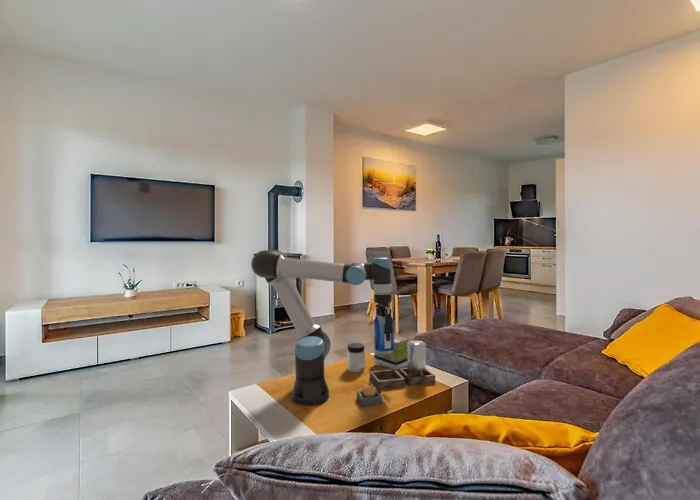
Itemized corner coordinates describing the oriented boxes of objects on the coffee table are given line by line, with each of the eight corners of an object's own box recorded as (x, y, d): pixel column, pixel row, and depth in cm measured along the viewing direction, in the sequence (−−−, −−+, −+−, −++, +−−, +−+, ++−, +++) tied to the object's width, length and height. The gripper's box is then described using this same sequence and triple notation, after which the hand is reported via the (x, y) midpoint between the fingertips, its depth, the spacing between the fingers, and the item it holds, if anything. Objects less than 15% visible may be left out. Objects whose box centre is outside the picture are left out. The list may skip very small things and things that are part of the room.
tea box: (373, 365, 182) (373, 336, 182) (386, 360, 189) (386, 332, 189) (396, 373, 171) (395, 342, 171) (409, 367, 178) (409, 338, 177)
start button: (364, 398, 139) (364, 390, 139) (361, 393, 144) (360, 385, 144) (377, 397, 140) (377, 389, 140) (373, 391, 145) (373, 384, 145)
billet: (412, 383, 155) (411, 346, 155) (404, 376, 163) (404, 341, 163) (428, 381, 157) (428, 344, 157) (421, 374, 165) (420, 339, 165)
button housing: (362, 407, 137) (362, 399, 137) (356, 398, 145) (356, 390, 145) (382, 404, 139) (382, 396, 139) (375, 395, 147) (375, 388, 147)
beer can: (393, 355, 151) (392, 317, 150) (373, 354, 153) (372, 317, 152) (395, 348, 159) (394, 313, 159) (376, 348, 161) (375, 312, 160)
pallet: (379, 393, 149) (379, 382, 148) (369, 380, 162) (369, 371, 162) (436, 386, 155) (436, 376, 155) (422, 374, 168) (422, 365, 168)
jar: (366, 371, 173) (366, 347, 173) (350, 373, 172) (349, 348, 171) (362, 365, 182) (361, 342, 182) (346, 367, 180) (345, 343, 180)
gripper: (399, 296, 146) (401, 351, 147) (383, 289, 166) (384, 338, 167) (382, 297, 145) (384, 353, 145) (367, 290, 165) (369, 340, 165)
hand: (384, 345), depth 156 cm, fingers closed on beer can, 8 cm apart
